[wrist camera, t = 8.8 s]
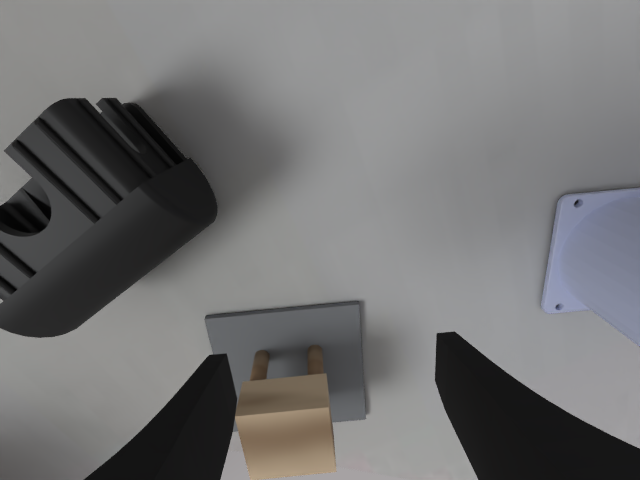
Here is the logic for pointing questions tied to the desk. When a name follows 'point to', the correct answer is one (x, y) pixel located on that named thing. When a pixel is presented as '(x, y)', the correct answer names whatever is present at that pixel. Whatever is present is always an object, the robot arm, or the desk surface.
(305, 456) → the stool
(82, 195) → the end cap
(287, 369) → the mat
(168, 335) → the desk surface
